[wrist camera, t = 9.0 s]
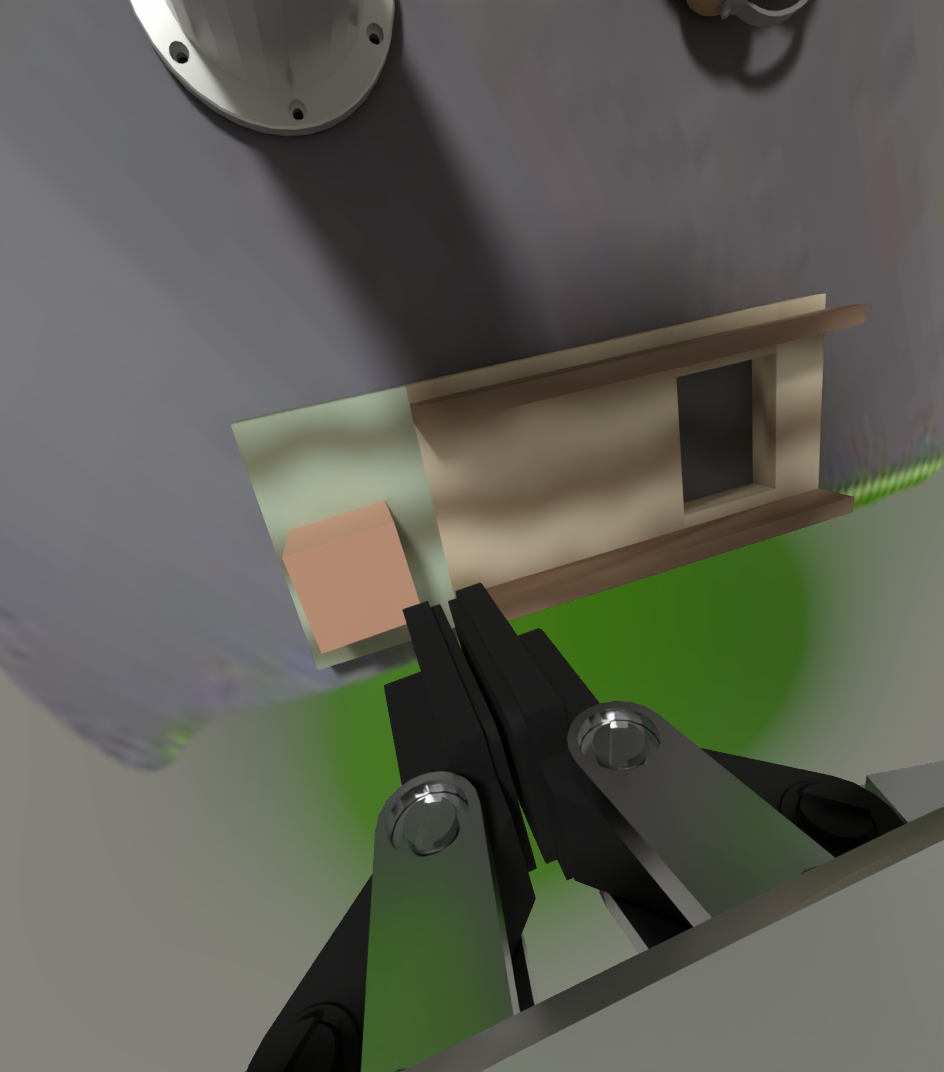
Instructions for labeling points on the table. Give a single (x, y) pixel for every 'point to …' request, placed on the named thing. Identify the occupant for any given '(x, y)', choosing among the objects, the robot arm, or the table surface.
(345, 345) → the table surface
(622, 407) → the track
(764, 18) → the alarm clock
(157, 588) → the table surface
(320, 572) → the block
